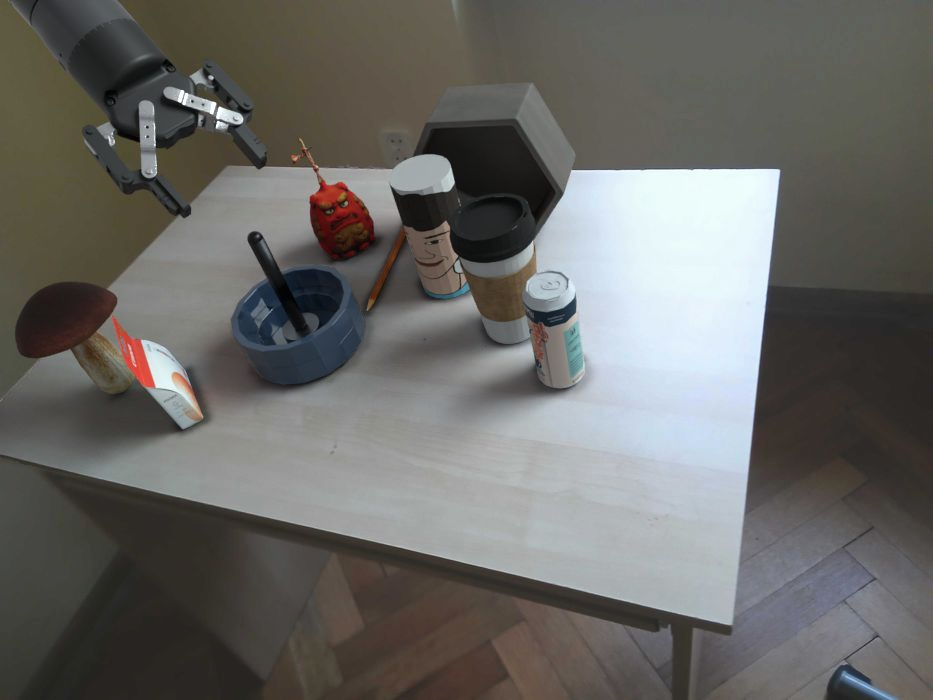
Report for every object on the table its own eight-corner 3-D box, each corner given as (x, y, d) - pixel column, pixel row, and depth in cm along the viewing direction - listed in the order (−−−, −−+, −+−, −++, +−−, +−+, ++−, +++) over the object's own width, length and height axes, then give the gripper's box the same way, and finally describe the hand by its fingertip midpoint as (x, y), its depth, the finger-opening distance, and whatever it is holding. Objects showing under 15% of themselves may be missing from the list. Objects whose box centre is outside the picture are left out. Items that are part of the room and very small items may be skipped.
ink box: (186, 370, 83) (135, 299, 75) (205, 420, 77) (151, 348, 69) (163, 382, 83) (109, 311, 74) (180, 433, 76) (122, 362, 68)
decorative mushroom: (122, 349, 89) (44, 256, 79) (187, 358, 84) (113, 259, 74) (61, 417, 82) (-32, 324, 72) (128, 430, 78) (38, 333, 67)
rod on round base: (291, 357, 80) (232, 252, 69) (286, 332, 83) (229, 228, 72) (327, 343, 81) (275, 237, 70) (322, 319, 84) (270, 214, 73)
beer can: (539, 356, 73) (523, 268, 65) (586, 354, 72) (575, 265, 64) (536, 392, 70) (518, 304, 62) (585, 391, 69) (573, 301, 61)
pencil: (413, 220, 95) (412, 216, 95) (370, 313, 84) (368, 309, 83) (408, 220, 95) (407, 216, 95) (364, 313, 84) (362, 309, 83)
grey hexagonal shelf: (388, 217, 88) (442, 80, 72) (408, 181, 93) (463, 45, 77) (509, 277, 90) (588, 157, 74) (523, 239, 95) (599, 118, 79)
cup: (414, 277, 87) (378, 172, 76) (462, 253, 88) (434, 147, 77) (437, 306, 82) (402, 199, 71) (487, 281, 83) (461, 172, 73)
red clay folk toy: (336, 270, 91) (292, 169, 80) (314, 246, 95) (270, 148, 85) (386, 242, 93) (350, 140, 82) (362, 220, 97) (325, 121, 87)
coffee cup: (538, 357, 73) (516, 244, 63) (463, 347, 77) (431, 237, 66) (560, 302, 78) (544, 188, 68) (489, 294, 82) (463, 184, 71)
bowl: (259, 404, 77) (235, 367, 73) (249, 326, 86) (227, 290, 82) (377, 360, 78) (360, 321, 74) (354, 288, 87) (338, 250, 83)
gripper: (21, 59, 57) (160, 214, 58) (169, -14, 63) (292, 129, 64) (37, 108, 64) (162, 246, 65) (170, 38, 70) (281, 166, 71)
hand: (227, 188), depth 65 cm, fingers open, 8 cm apart
